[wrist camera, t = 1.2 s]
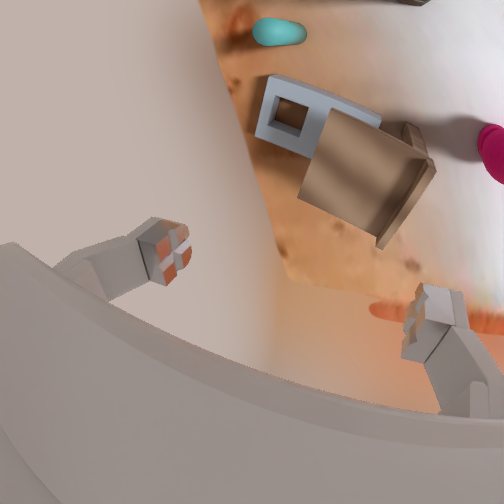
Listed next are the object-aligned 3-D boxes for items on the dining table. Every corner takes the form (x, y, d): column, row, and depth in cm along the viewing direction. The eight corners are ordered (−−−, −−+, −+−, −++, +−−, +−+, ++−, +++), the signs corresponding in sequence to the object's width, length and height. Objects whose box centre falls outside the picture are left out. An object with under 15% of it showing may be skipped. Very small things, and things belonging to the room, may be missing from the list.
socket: (276, 73, 34) (268, 76, 32) (381, 115, 32) (381, 121, 30) (262, 130, 42) (254, 136, 40) (356, 170, 40) (353, 179, 38)
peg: (285, 19, 28) (255, 15, 21) (309, 26, 27) (286, 21, 21) (279, 40, 30) (249, 42, 24) (303, 47, 30) (279, 49, 23)
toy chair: (344, 91, 32) (326, 113, 23) (421, 130, 30) (436, 171, 22) (318, 159, 41) (292, 205, 32) (386, 192, 40) (382, 250, 31)
